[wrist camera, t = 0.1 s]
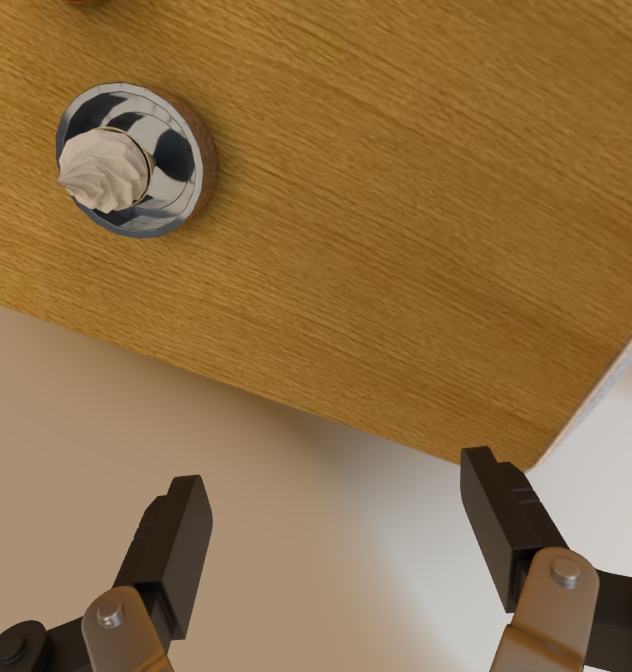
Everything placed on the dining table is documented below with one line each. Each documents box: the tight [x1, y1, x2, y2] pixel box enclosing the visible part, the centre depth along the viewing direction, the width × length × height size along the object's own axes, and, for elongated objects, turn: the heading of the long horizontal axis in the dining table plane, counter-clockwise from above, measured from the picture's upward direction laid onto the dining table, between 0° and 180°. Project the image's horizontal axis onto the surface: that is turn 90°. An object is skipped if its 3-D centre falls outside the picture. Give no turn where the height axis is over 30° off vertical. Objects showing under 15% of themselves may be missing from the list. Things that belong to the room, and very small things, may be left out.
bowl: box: [56, 82, 218, 239], centre depth 35 cm, size 10×10×6 cm
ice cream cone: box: [56, 127, 157, 214], centre depth 30 cm, size 5×5×15 cm
